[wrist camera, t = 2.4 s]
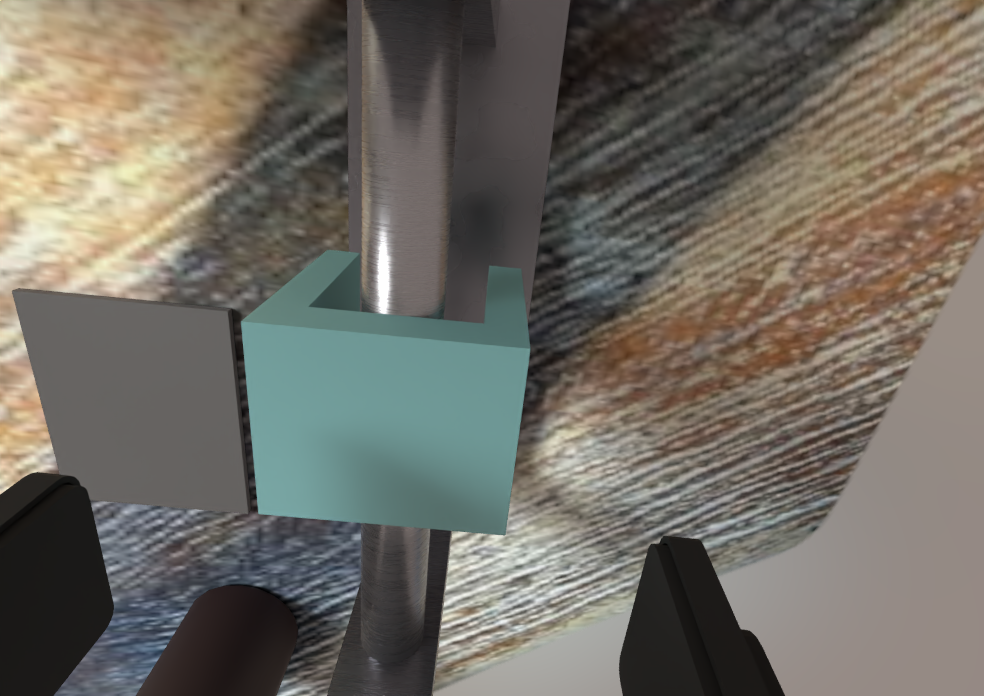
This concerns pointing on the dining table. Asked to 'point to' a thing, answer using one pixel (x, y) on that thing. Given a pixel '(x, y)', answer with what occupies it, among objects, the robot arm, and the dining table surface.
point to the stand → (437, 242)
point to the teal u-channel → (385, 404)
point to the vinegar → (227, 647)
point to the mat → (140, 398)
